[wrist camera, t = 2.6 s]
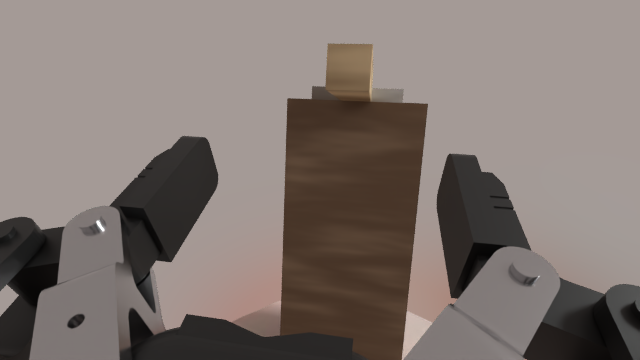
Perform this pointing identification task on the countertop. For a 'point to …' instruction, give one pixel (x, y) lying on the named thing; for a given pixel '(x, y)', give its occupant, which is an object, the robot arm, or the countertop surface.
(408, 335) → the countertop surface
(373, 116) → the plinth
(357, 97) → the rectangular straight-edged part
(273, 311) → the countertop surface
